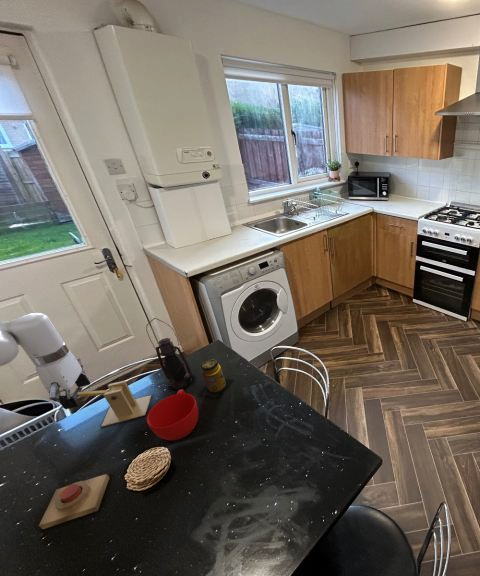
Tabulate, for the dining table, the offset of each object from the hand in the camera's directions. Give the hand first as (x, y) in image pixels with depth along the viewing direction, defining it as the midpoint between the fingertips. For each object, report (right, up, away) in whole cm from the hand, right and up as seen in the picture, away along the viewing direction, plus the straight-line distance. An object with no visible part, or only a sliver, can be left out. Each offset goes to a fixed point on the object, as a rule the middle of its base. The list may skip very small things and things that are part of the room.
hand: (78, 395), depth 97 cm
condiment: (+34, -4, +18) cm, 38 cm away
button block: (+16, -23, -16) cm, 32 cm away
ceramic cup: (+30, -12, +5) cm, 33 cm away
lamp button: (+16, -19, -18) cm, 31 cm away
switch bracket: (+9, -9, +9) cm, 15 cm away
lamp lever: (+4, -1, +2) cm, 5 cm away
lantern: (+19, -3, +20) cm, 28 cm away
